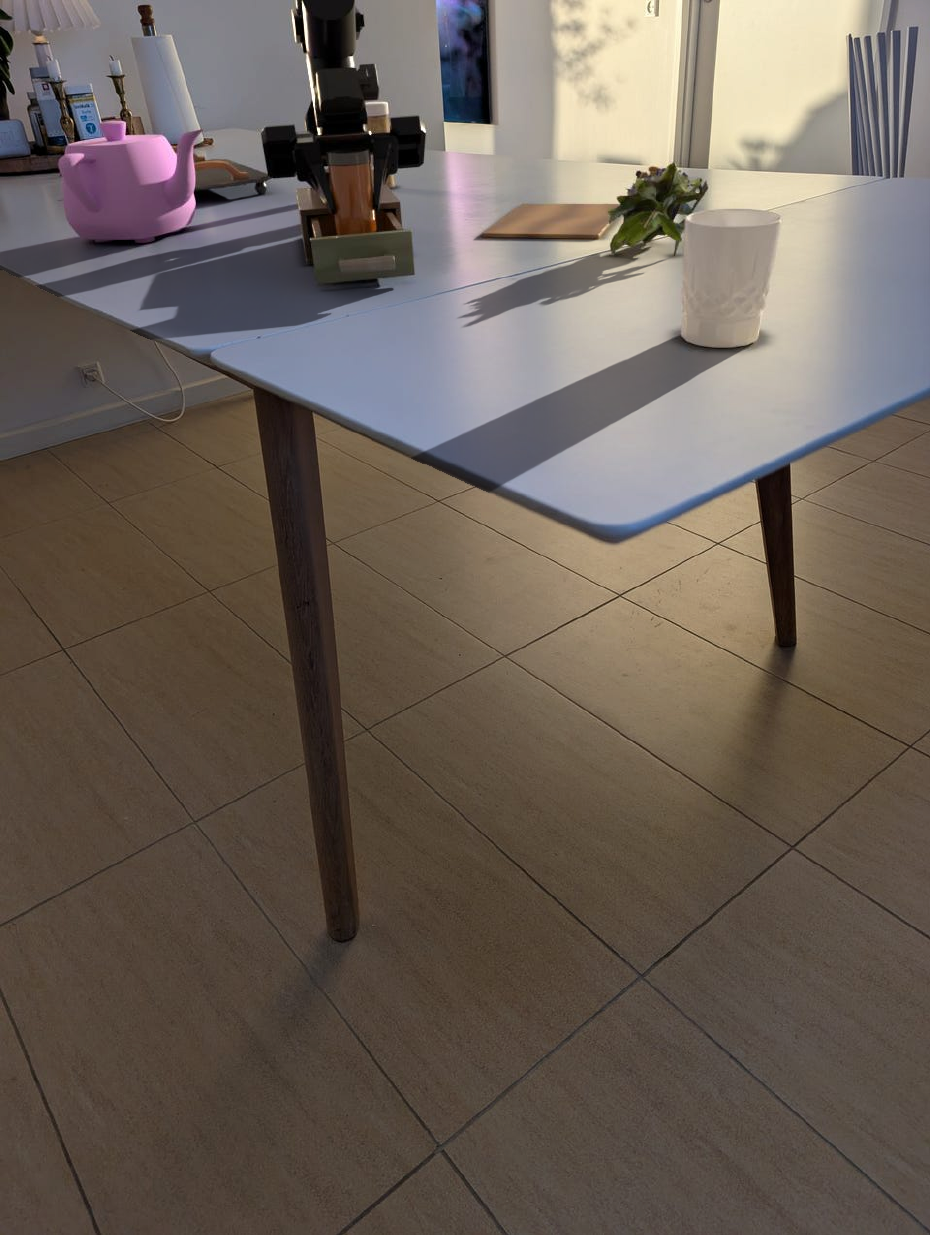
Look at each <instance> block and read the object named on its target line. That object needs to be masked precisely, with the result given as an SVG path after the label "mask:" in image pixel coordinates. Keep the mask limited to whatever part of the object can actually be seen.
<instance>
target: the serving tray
mask: <svg viewBox="0 0 930 1235" xmlns="http://www.w3.org/2000/svg"><path fill="white" fill-rule="evenodd" d="M171 147H172V149H173V150H174V152H175V154H177V147H178V145H171ZM193 161H194V169H195V188H194V192H197V191H205V190H206V191H207V190H213V189H215V190H216V189H222V188H229V187H239V186H246V185H248V184H254V190H255V192H256V193H257V195H259V196H261V195H266V194H267V191H268V186H267V184H266V183H265V182H268V181H269V180H272V179H273V178H271V177H269V176H268V173H266V172H264V171H261V170H259V169H255V168H252V167H249V166H247V165H245V164H241V163H238V162H236V161H233V160H230V159H228V158H212V159H206V157H205V155H198V154H196V153H195V152H194V151H193Z"/></svg>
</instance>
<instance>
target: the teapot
mask: <svg viewBox="0 0 930 1235" xmlns="http://www.w3.org/2000/svg"><path fill="white" fill-rule="evenodd" d="M97 125H98V127H99V129H100V131H101V133H102V135H103V136H102V137H96V138H88V139H85V140H79V141H74V142H72V143H69V144H67V145H66V146H65V150H64V155H63V156H61V157H60V158H59V160H58V170H59V172H60V173H59V174H60V175H61V194H62V195H61V196H62V204H63V210H64V215H65V219H66V221H67V222H68V225H69V226H70V227H71V229H72V230H73V231H74V232H75V233H76V234H77V235H78V237H79V238H81V239H85V240H95V241H94V242H95V243H106V242H112V241H117V240H118V241H121V240H122V241H123V240H124V241H127V240H128V241H129V240H134V242H135V243H137V244H139V243H140V244H143V243H144V244H145V243H151V242H154V241H155V240H156V239H155V237H158V236H162V235H165V234H171V233H178V232H180V231H182V229H183V228H185V227H187V226H188V225H190V224H191V223H192V222H193V219H194V216H195V213H196V208H197V207H196V206H197V205H196V204H197V203H196V198H195V194H194V192H195V191H194V188H195V169H194V161H193V152H194V146H195V142H196V140H197V138H198V137H199V136H200V135H201V133H202V132H204V131H205V128H200V129H197V130H196V129H195V130H191V131H187V132H184V133H182V134H181V136H180V137H179V139H178V143H177V146H178V147H177V153H175V152H174V150H173V149H172V147H171V146H172V145H171V144H170V142H169V141H168V139H167V138H166V137H165V136H164V135H163V134H127V135H126V132H127V131H126V130H127V122H126V121H124V120H109V121H102V122H100V123H98V124H97Z"/></svg>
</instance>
